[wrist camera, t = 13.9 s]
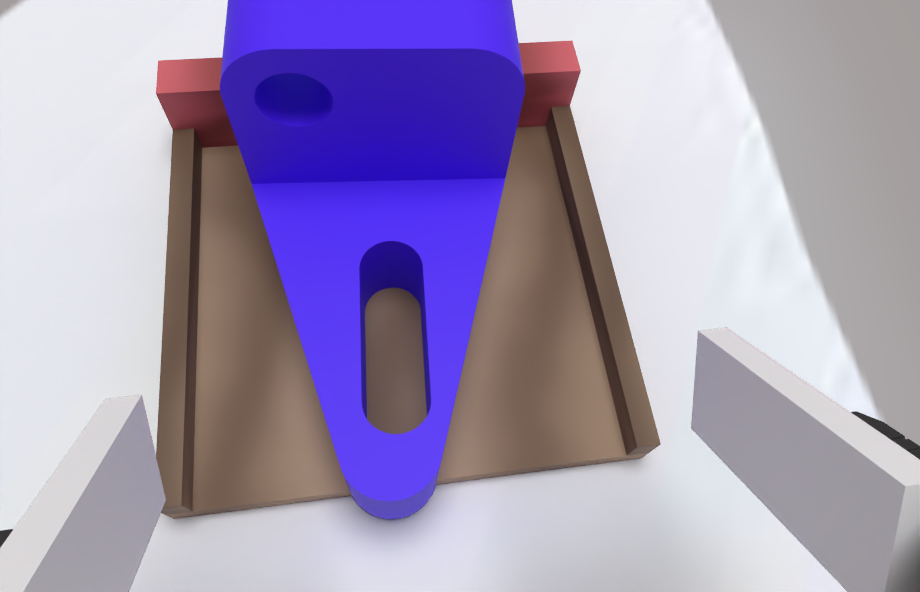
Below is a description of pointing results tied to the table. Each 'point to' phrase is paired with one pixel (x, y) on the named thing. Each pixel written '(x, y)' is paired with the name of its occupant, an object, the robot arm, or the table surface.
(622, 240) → the table surface
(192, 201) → the walnut stop track
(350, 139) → the bracket
